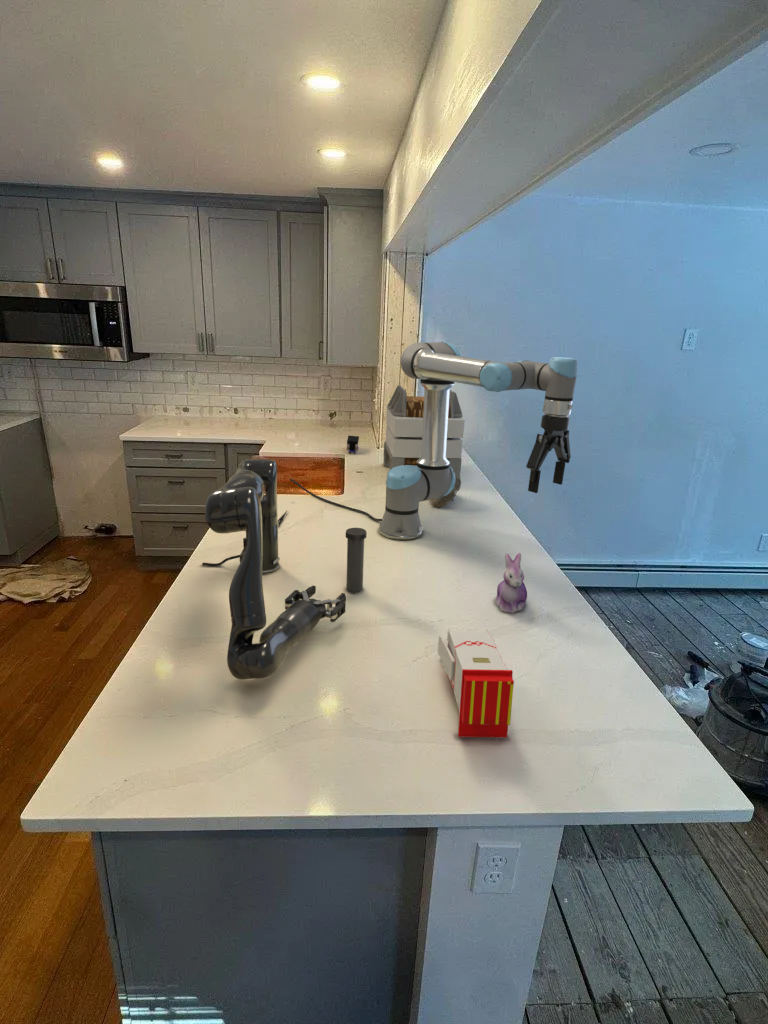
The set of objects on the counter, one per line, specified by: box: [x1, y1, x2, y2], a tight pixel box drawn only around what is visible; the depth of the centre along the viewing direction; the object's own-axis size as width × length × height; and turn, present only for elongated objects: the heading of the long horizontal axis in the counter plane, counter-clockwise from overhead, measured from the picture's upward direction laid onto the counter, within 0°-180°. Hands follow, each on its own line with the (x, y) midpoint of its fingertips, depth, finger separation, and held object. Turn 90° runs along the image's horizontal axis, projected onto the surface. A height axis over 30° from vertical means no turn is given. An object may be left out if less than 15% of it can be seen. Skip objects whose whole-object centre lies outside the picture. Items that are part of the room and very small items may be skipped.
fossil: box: [430, 476, 462, 508], centre depth 235 cm, size 22×10×15 cm
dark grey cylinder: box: [345, 539, 365, 594], centre depth 156 cm, size 5×5×17 cm
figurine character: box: [346, 435, 360, 455], centre depth 309 cm, size 7×8×15 cm
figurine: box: [495, 552, 528, 614], centre depth 152 cm, size 9×10×15 cm
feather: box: [278, 510, 288, 528], centre depth 213 cm, size 2×28×2 cm
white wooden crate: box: [383, 384, 465, 479], centre depth 268 cm, size 34×33×41 cm
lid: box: [345, 527, 367, 541], centre depth 154 cm, size 6×6×2 cm
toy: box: [437, 628, 515, 738], centre depth 117 cm, size 12×13×30 cm
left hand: (329, 592), depth 144 cm, fingers open, 8 cm apart
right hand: (545, 487), depth 165 cm, fingers open, 13 cm apart
